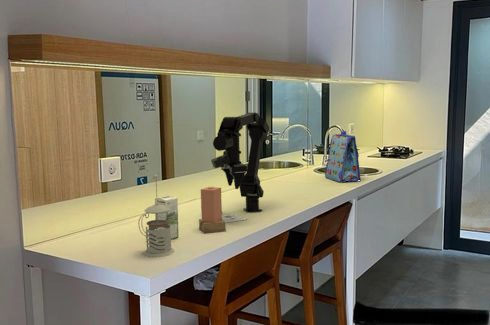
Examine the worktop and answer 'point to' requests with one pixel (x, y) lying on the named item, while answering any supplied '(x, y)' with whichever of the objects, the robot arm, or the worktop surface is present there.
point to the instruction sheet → (232, 218)
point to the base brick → (212, 226)
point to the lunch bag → (343, 159)
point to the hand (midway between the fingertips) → (233, 187)
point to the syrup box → (169, 214)
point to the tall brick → (211, 204)
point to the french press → (157, 231)
